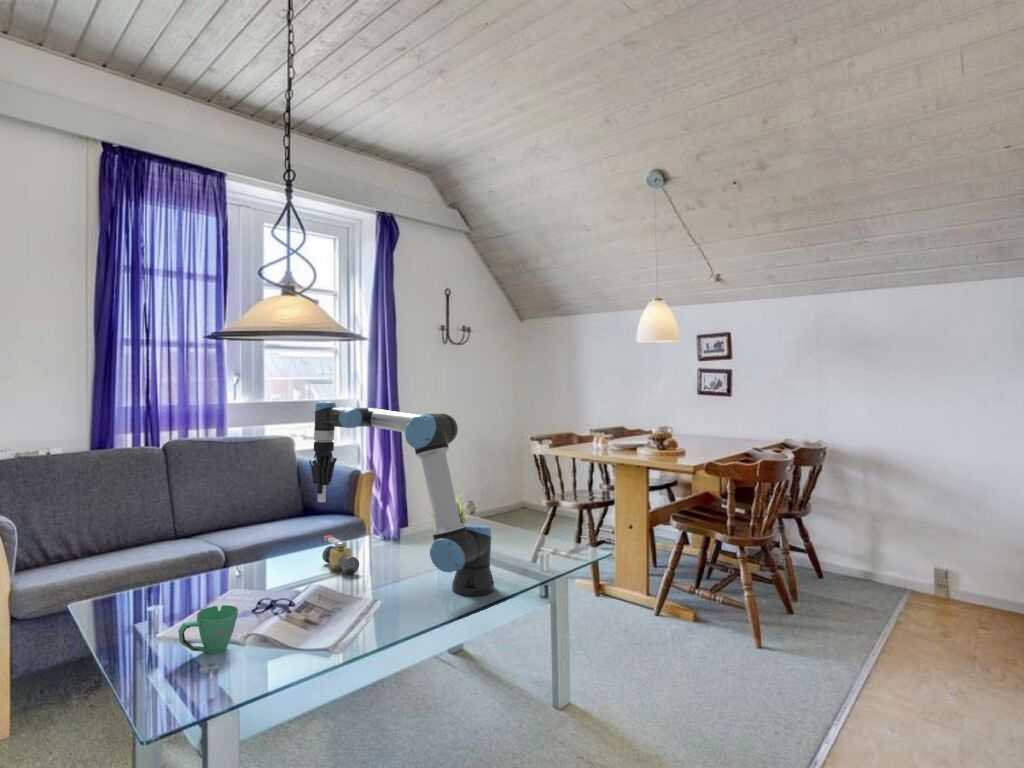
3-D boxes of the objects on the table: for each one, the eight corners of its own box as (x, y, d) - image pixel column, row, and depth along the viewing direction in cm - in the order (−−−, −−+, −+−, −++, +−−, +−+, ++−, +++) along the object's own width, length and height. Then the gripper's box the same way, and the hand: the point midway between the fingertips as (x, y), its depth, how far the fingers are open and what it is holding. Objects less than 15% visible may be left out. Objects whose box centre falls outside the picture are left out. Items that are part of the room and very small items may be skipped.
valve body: (361, 573, 220) (361, 551, 220) (341, 577, 215) (342, 554, 215) (338, 561, 235) (339, 540, 235) (319, 564, 230) (320, 543, 230)
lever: (348, 546, 225) (348, 542, 225) (337, 548, 222) (338, 544, 222) (332, 538, 236) (332, 534, 236) (322, 540, 234) (322, 536, 234)
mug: (224, 638, 160) (225, 602, 160) (243, 648, 154) (245, 611, 154) (168, 657, 148) (170, 618, 148) (187, 669, 142) (189, 628, 142)
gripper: (319, 442, 217) (316, 505, 217) (342, 440, 229) (340, 500, 228) (304, 441, 220) (301, 503, 220) (328, 439, 232) (325, 498, 231)
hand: (321, 501), depth 224 cm, fingers closed
